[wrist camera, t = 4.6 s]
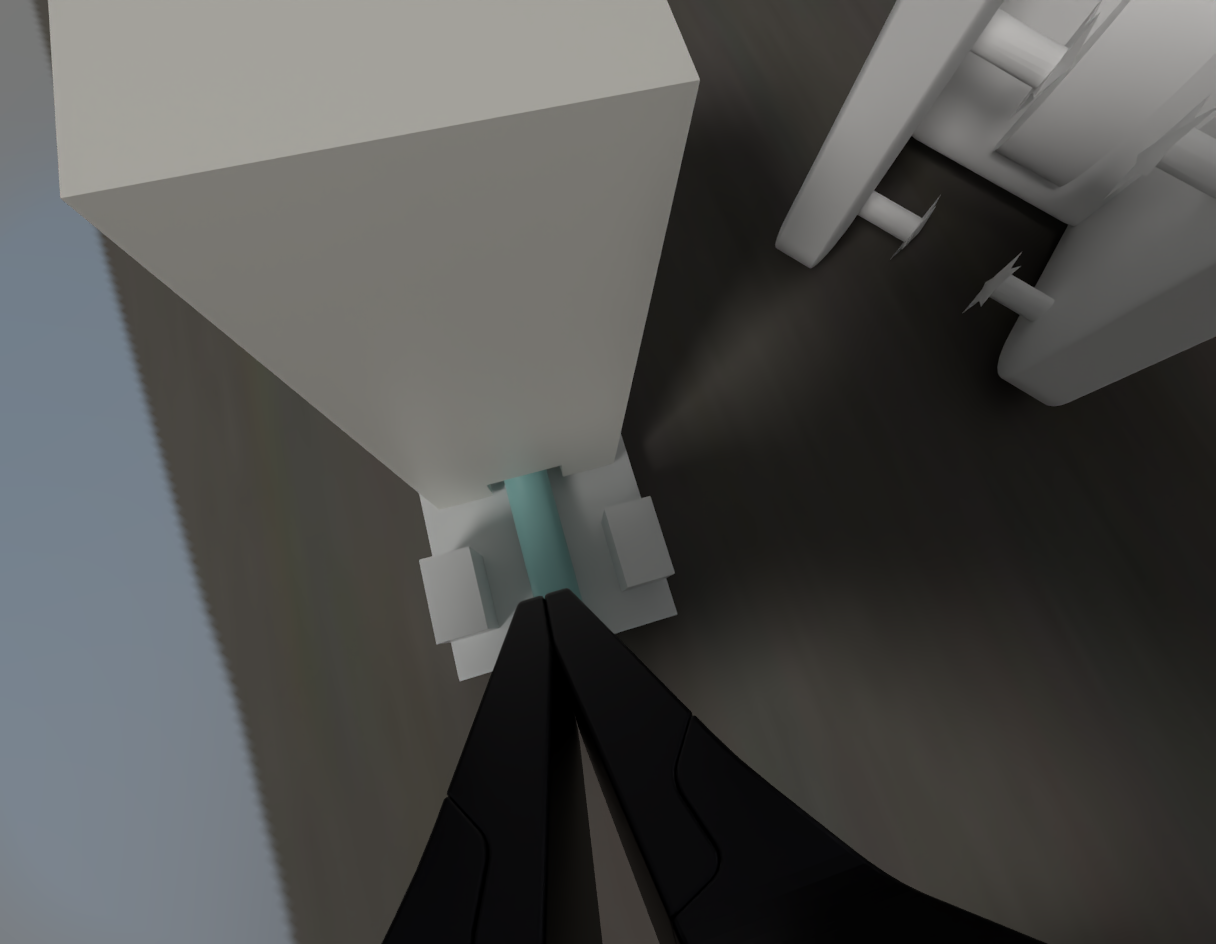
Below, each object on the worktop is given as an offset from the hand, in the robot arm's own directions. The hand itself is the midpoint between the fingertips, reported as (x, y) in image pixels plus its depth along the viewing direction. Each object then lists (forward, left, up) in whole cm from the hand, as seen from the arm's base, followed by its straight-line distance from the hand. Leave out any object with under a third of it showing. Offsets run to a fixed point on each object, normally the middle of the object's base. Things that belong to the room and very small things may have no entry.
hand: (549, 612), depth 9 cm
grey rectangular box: (+6, -3, -6) cm, 9 cm away
